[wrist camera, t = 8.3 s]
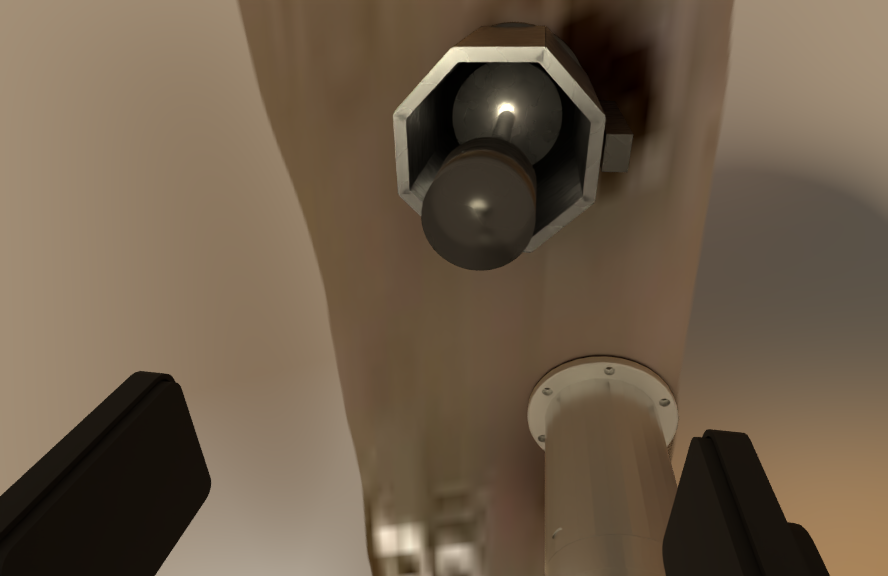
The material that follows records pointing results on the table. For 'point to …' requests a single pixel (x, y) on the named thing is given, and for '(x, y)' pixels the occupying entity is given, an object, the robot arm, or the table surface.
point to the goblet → (492, 166)
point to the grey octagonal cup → (566, 164)
